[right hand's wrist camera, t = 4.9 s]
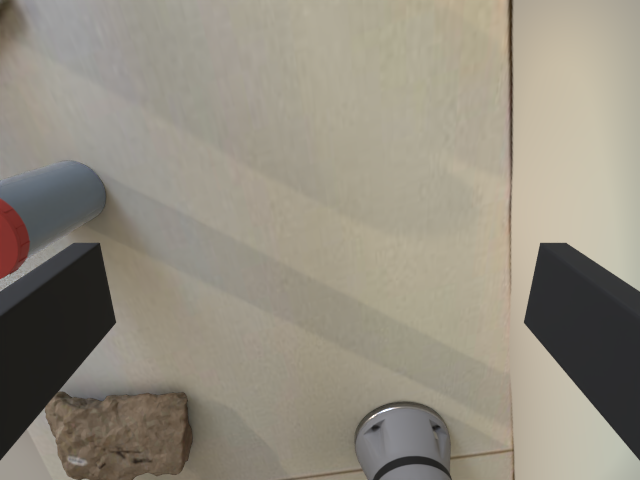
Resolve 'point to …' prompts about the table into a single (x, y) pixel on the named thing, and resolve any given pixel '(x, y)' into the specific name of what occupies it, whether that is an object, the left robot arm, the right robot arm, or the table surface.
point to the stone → (120, 435)
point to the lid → (12, 240)
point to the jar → (54, 200)
